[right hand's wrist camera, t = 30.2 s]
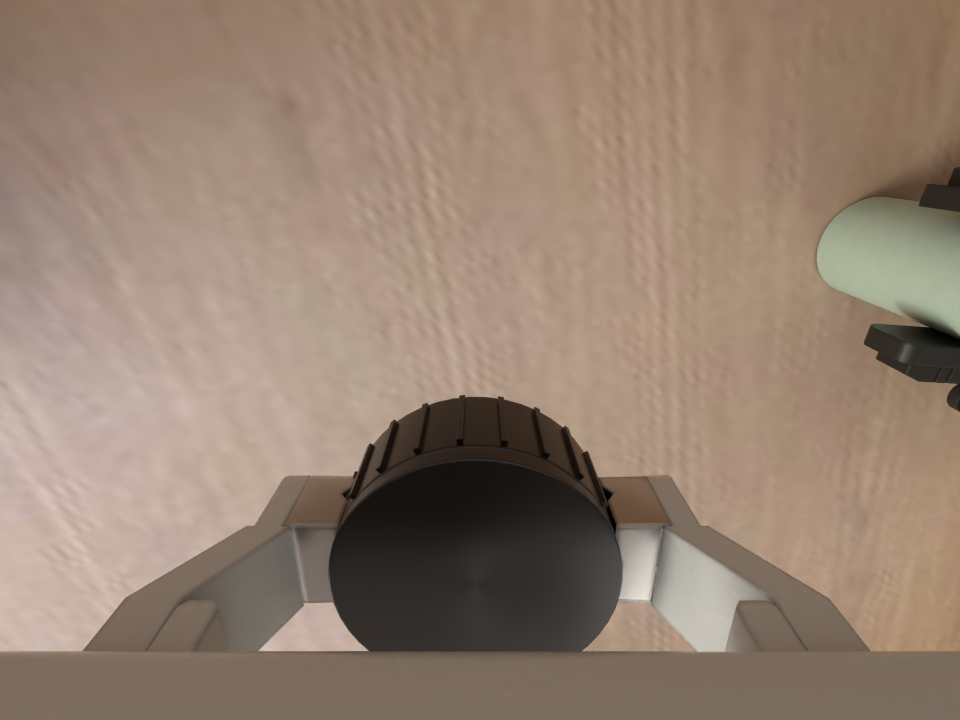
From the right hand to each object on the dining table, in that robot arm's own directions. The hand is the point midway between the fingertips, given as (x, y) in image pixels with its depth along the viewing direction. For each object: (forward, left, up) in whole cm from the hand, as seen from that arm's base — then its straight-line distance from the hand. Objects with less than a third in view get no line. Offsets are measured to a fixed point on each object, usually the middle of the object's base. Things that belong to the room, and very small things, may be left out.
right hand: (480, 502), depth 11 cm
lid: (0, 0, +2) cm, 2 cm away
